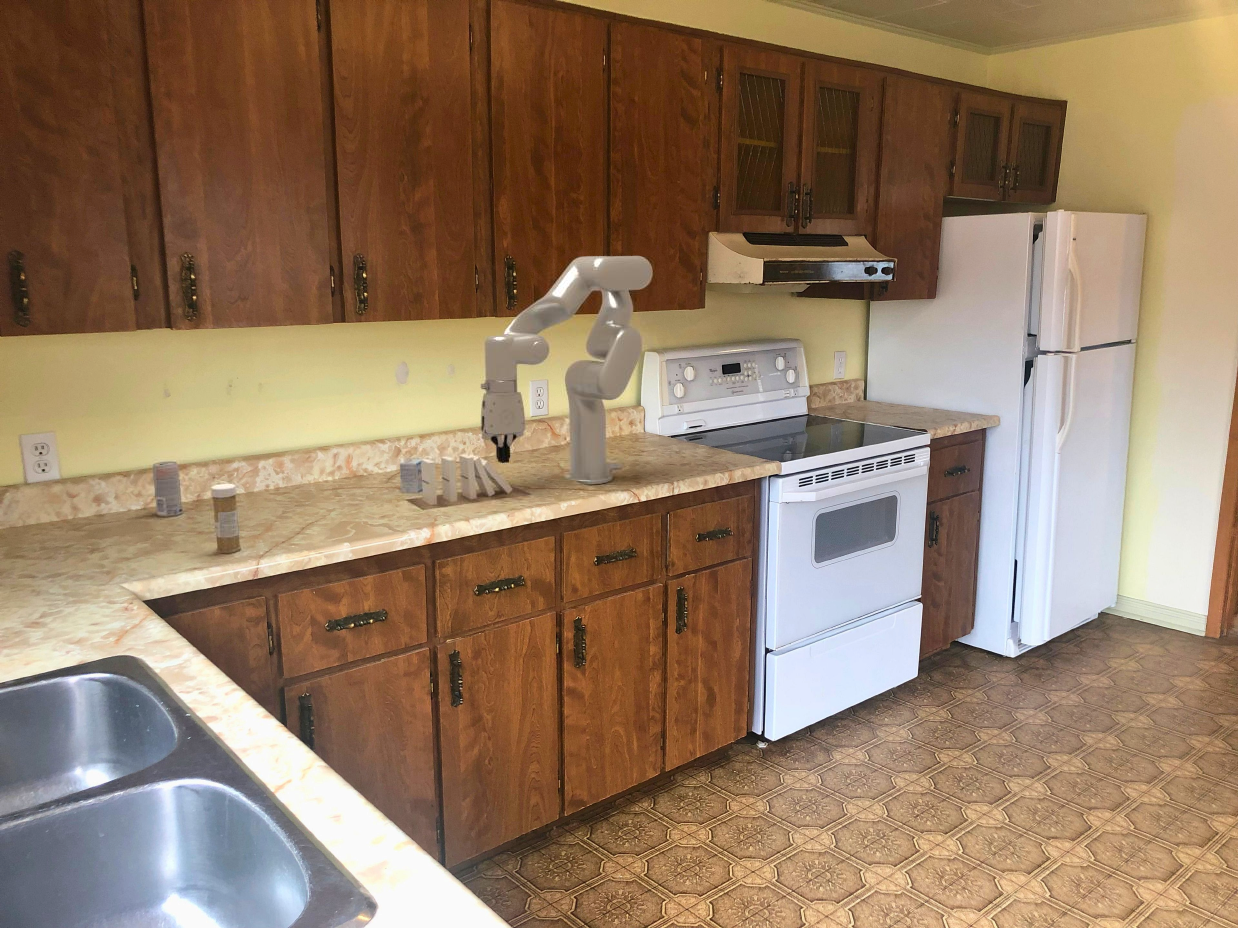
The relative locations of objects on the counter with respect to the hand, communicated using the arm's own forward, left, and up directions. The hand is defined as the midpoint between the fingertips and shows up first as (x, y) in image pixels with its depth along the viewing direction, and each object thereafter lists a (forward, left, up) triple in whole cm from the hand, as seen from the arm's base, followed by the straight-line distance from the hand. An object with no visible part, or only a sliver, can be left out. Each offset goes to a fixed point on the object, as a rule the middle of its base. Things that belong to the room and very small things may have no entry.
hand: (503, 461), depth 236 cm
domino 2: (+14, 0, -8) cm, 16 cm away
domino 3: (+9, 0, -8) cm, 12 cm away
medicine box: (+17, -15, -9) cm, 25 cm away
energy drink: (+72, -27, -9) cm, 78 cm away
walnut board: (+9, 0, -9) cm, 13 cm away
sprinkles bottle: (+66, +12, -9) cm, 68 cm away
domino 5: (-1, 0, -7) cm, 7 cm away
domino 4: (+4, 0, -7) cm, 8 cm away
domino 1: (+19, 0, -8) cm, 21 cm away
